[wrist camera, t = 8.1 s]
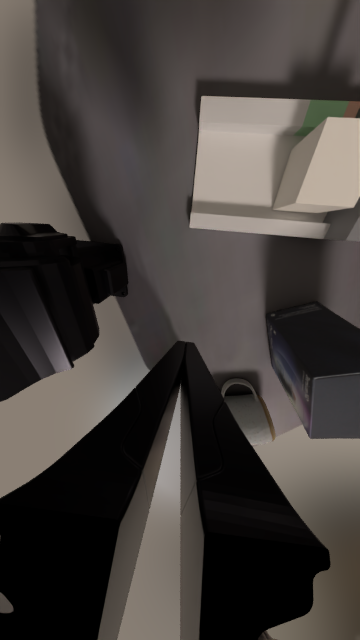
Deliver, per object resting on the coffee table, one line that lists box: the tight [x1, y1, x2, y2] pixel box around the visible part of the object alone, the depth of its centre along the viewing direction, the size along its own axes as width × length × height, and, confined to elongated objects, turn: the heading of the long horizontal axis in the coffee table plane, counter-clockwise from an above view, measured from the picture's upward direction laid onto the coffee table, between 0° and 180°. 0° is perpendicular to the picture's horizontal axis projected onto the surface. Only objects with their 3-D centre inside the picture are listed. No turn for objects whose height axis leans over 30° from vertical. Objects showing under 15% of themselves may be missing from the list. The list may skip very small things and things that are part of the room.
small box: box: [266, 302, 360, 439], centre depth 17 cm, size 11×6×10 cm, turn 21°
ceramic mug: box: [221, 378, 276, 445], centre depth 26 cm, size 11×8×8 cm
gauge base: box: [190, 96, 360, 242], centre depth 12 cm, size 15×8×4 cm, turn 86°
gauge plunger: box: [272, 108, 360, 213], centre depth 11 cm, size 4×7×4 cm, turn 176°
